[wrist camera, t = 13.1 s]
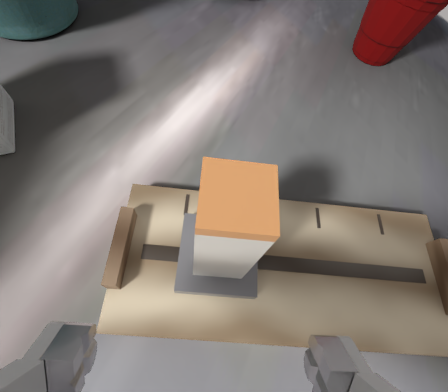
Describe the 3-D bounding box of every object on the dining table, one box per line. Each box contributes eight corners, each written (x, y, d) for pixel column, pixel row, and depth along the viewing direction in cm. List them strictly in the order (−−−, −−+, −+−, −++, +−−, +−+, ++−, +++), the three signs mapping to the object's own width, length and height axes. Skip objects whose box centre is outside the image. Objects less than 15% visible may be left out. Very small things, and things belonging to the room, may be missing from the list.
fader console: (448, 356, 23) (490, 360, 20) (103, 333, 21) (88, 333, 18) (411, 222, 28) (439, 208, 25) (136, 194, 26) (129, 174, 23)
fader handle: (253, 299, 21) (309, 267, 11) (174, 292, 20) (160, 254, 11) (254, 225, 24) (300, 147, 14) (184, 218, 23) (181, 133, 13)
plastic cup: (376, 89, 37) (450, -9, 27) (321, 43, 41) (368, -60, 30) (421, 65, 41) (502, -30, 30) (367, 24, 44) (424, -74, 34)
